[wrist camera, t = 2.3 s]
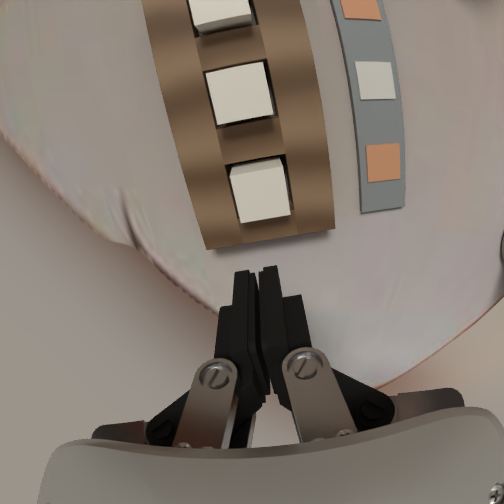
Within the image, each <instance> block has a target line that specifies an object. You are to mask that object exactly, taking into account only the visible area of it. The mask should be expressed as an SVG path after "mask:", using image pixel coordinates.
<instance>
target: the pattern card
mask: <svg viewBox="0 0 504 504" xmlns="http://www.w3.org/2000/svg"><path fill="white" fill-rule="evenodd" d="M330 2H331V5H332V9H333V13H334V17H335V21H336V25H337V29H338V33H339V37H340V42H341V47H342V51H343V56H344V61H345V67H346V72H347V78H348V84H349V90H350V97H351V104H352V111H353V119H354V128H355V137H356V147H357V159H358V173H359V190H360V210H361V212H369V211H376V210H383V209H390V208H397V207H404V206H405V142H404V125H403V113H402V103H401V94H400V86H399V78H398V72H397V66H396V60H395V54H394V49H393V44H392V39H391V34H390V30H389V26H388V22H387V18H386V14H385V10H384V6H383V3H382V0H330Z"/></svg>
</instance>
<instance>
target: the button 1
mask: <svg viewBox="0 0 504 504" xmlns="http://www.w3.org/2000/svg"><path fill="white" fill-rule="evenodd" d="M189 4H190V8H191V12H192V17H193V21H194V25H195V27H196V28H197V29H198V30H199V31H200V32H201V33H202V35H205V34H209V33H213V32H217V31H222V30H226V29H231V28H236V27H242V26H247V25H252V23H251V11H250V7H249V3H248V0H189Z"/></svg>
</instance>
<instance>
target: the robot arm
mask: <svg viewBox="0 0 504 504" xmlns="http://www.w3.org/2000/svg"><path fill="white" fill-rule="evenodd" d="M502 257H503V260H504V236H503V241H502ZM270 380H271V383H272V386H273V390H274V393H275V394H277V395H278V399H279V402H280V404H281V405H282V406H284V407H285V408H287V409H288V410H290V411H291V413H292V417H293V420H294V424H295V428H296V431H297V435H298V438H299V442H300V443H299V444H291V445H282V446H272V447H260V448H251V444H252V439H253V433H254V427H255V421H256V412H257V411H258V410H259V409H260V408H261V407H262V403H265V402H266V396H265V395H270ZM37 504H504V428H503V426H502V424H501V423H500V421H499V420H498V418H497V417H496V416H495V415H494V414H493V413H492V412H490V411H489V410H487V409H483V408H478V407H465V406H464V400H463V397H462V395H461V394H460V393H459V392H458V391H457V390H455V389H453V388H442V389H434V390H426V391H419V392H408V393H399V394H398V395H397V396H387V395H386V394H384V393H382V392H380V391H378V390H376V389H373V388H371V387H369V386H367V385H365V384H363V383H361V382H359V381H357V380H355V379H353V378H351V377H349V376H347V375H345V374H343V373H341V372H339V371H337V370H335V369H333V368H331V366H330V364H329V362H328V359H327V358H326V356H325V355H324V353H322V352H321V351H320V350H318V349H315V348H312V345H311V340H310V335H309V330H308V325H307V320H306V315H305V310H304V305H303V300H302V296H301V295H295V296H289V297H282V291H281V285H280V279H279V274H278V268H277V265H275V266H269V267H263V271H261V272H259V289H258V284H257V280H256V276H255V273H250V272H249V270H244V271H238V272H235V275H234V287H233V300H232V305H230V306H222V307H220V311H219V319H218V327H217V337H216V345H215V353H214V359H212V360H209V361H207V362H205V363H203V364H202V365H201V366H200V367H199V368H198V369H197V372H196V373H195V376H194V379H193V382H192V385H191V388H190V390H189V391H187V392H186V393H185V394H184V395H182V396H181V397H180V398H178V399H177V400H176V401H175V402H173V403H172V404H171V405H169V406H168V407H167V408H165V409H164V410H163V411H162V412H160V413H159V414H158V415H156V416H155V417H154V418H153V419H152V420H151V421H149V422H145V421H144V420H142V421H134V422H127V423H118V424H109V425H102V426H99V427H98V428H97V429H95V431H94V432H93V434H92V438H91V439H81V440H75V441H71V442H68V443H65V444H63V445H61V446H59V447H58V448H57V449H56V450H55V451H54V452H53V453H52V455H51V457H50V459H49V462H48V464H47V467H46V469H45V472H44V476H43V479H42V483H41V487H40V491H39V495H38V501H37Z"/></svg>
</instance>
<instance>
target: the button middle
mask: <svg viewBox="0 0 504 504" xmlns="http://www.w3.org/2000/svg"><path fill="white" fill-rule="evenodd" d="M206 77H207V82H208V86H209V90H210V94H211V99H212V103H213V107H214V112H215V116H216V120H217V124H218V125H220V124H224V123H229V122H234V121H239V120H244V119H249V118H254V117H260V116H266V115H272V114H273V110H272V105H271V100H270V95H269V90H268V85H267V80H266V75H265V71H264V66H263V62H259V63H253V64H247V65H242V66H237V67H232V68H227V69H223V70H218V71H214V72H210V73H206Z"/></svg>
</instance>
